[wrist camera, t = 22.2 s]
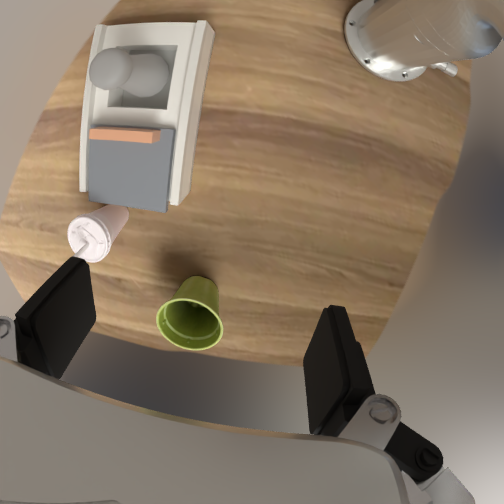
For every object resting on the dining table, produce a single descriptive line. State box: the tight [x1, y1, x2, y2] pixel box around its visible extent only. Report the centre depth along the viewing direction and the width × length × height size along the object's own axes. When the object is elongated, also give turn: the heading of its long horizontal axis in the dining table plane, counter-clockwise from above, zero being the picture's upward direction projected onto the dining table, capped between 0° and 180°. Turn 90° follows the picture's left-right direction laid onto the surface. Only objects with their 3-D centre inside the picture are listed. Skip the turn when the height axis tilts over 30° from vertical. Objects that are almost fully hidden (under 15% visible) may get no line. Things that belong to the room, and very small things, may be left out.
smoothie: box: [68, 204, 129, 262], centre depth 36 cm, size 6×6×14 cm
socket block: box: [79, 20, 215, 206], centre depth 32 cm, size 22×14×6 cm, turn 170°
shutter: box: [89, 124, 176, 213], centre depth 32 cm, size 10×11×4 cm
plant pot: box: [156, 276, 223, 350], centre depth 44 cm, size 9×9×9 cm
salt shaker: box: [89, 48, 169, 98], centre depth 26 cm, size 6×6×13 cm
